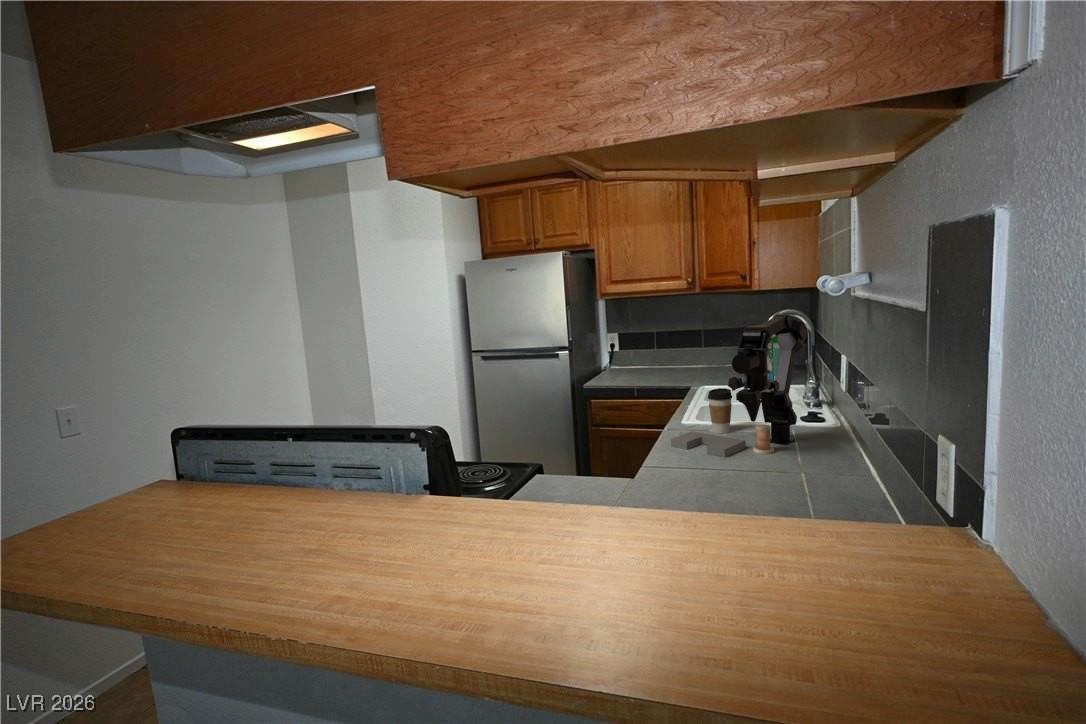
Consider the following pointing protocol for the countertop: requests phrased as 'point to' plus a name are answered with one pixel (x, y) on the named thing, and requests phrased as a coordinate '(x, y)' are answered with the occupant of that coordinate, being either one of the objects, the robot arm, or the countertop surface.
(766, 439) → the spool
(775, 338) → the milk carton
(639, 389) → the countertop surface
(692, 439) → the gray u-shaped block
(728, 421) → the coffee cup
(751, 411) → the robot arm
